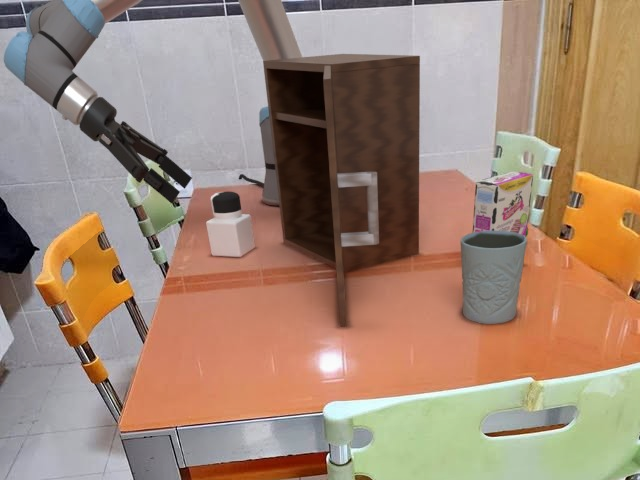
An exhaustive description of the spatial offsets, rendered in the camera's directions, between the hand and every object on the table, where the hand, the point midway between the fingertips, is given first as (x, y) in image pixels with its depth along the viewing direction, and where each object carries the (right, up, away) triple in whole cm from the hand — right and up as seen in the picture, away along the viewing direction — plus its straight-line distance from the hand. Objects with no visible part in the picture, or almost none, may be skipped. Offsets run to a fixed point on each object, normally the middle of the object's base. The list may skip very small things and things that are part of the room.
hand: (182, 190), depth 134 cm
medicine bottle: (+9, -10, +8) cm, 16 cm away
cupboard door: (+36, -27, -19) cm, 49 cm away
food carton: (+63, -20, -10) cm, 67 cm away
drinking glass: (+58, -33, -27) cm, 72 cm away
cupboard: (+34, -10, +5) cm, 36 cm away
